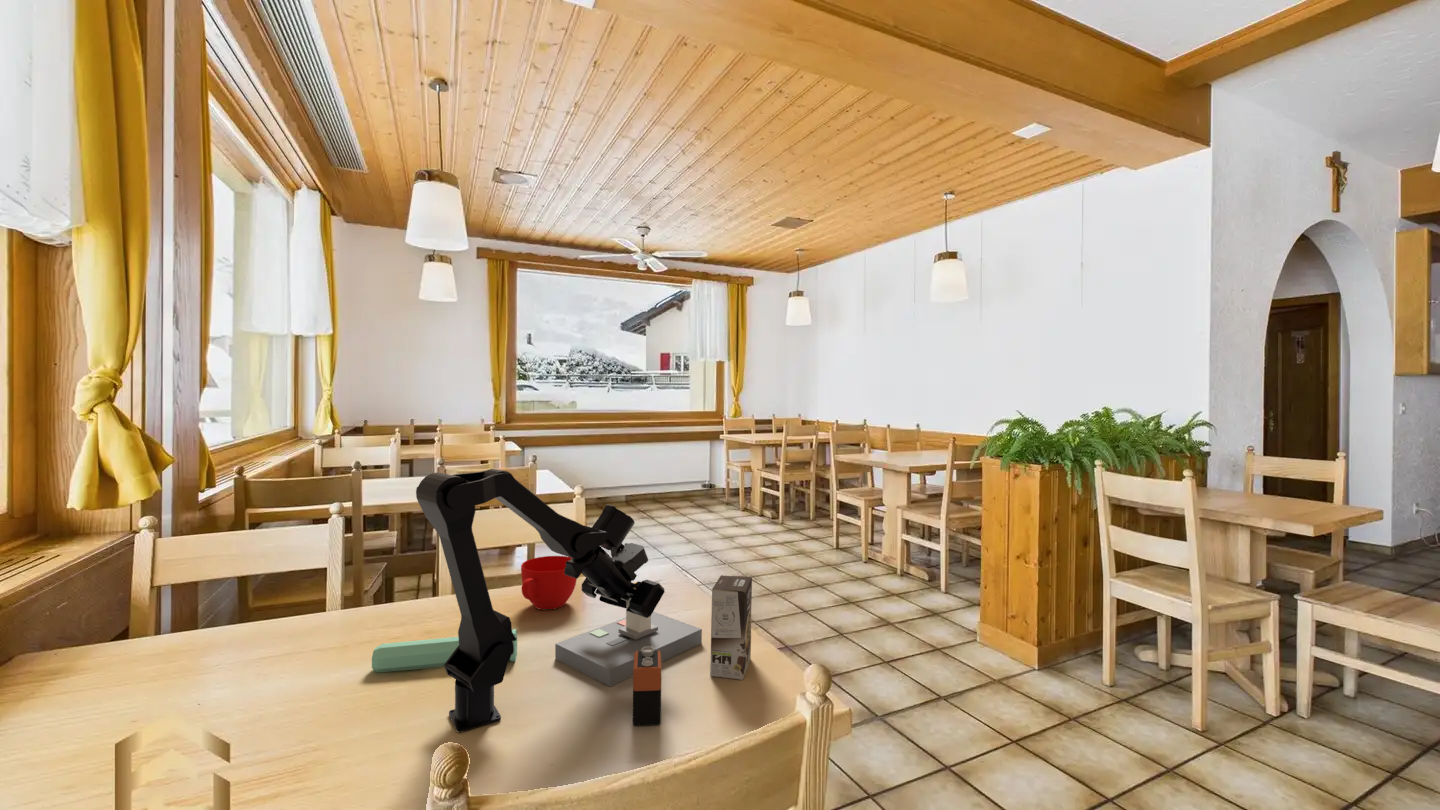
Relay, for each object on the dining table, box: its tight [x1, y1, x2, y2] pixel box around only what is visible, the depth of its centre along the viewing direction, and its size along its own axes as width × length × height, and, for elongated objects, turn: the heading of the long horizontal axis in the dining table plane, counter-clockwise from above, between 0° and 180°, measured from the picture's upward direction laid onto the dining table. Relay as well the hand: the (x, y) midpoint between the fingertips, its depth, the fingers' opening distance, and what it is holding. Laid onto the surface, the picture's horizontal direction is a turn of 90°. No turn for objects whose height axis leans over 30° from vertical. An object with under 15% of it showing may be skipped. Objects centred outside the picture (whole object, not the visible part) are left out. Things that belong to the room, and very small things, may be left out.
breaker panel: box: [554, 611, 703, 688], centre depth 122 cm, size 24×16×3 cm, turn 140°
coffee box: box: [709, 574, 753, 681], centre depth 115 cm, size 9×6×16 cm
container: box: [371, 628, 518, 673], centre depth 115 cm, size 6×6×25 cm
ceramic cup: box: [520, 555, 578, 610], centre depth 144 cm, size 13×17×10 cm
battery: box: [632, 647, 662, 727], centre depth 99 cm, size 4×7×10 cm, turn 6°
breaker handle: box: [619, 581, 658, 640], centre depth 123 cm, size 6×5×9 cm
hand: (643, 611), depth 124 cm, fingers closed on breaker handle, 4 cm apart
